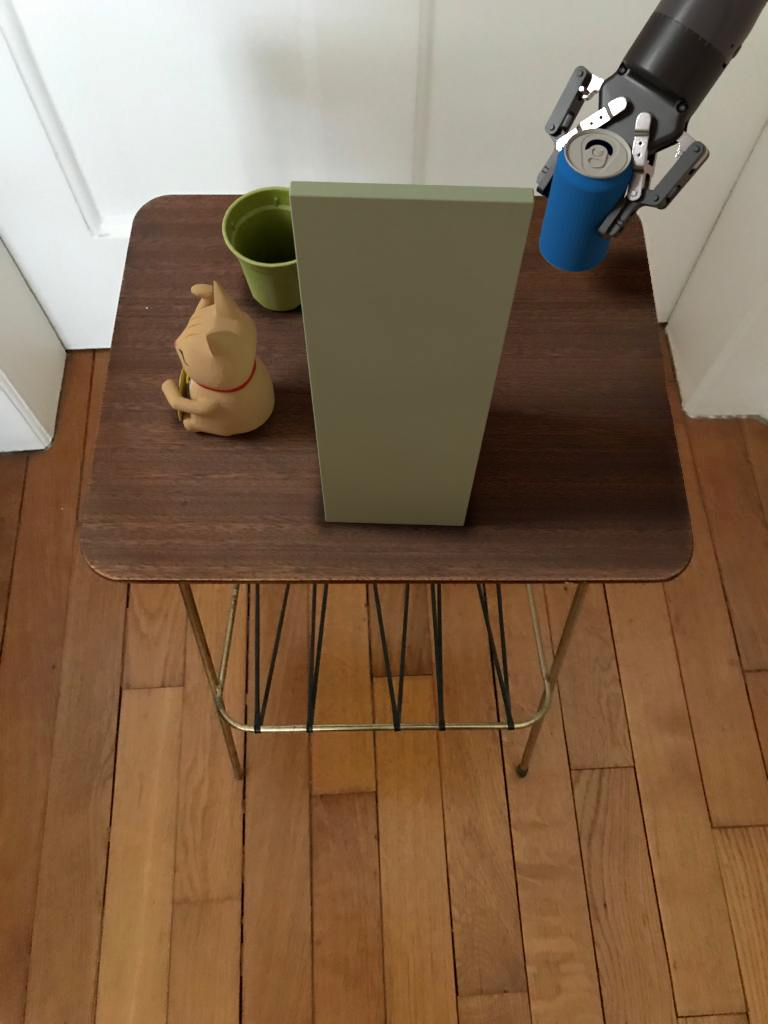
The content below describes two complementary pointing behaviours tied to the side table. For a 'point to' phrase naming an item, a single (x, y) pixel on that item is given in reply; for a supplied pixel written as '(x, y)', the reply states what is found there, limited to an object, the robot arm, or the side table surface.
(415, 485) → the shelf
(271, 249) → the plant pot
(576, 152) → the beverage can
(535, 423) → the side table surface
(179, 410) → the figurine
